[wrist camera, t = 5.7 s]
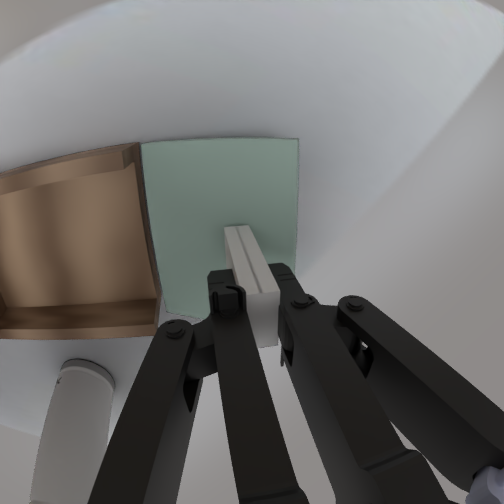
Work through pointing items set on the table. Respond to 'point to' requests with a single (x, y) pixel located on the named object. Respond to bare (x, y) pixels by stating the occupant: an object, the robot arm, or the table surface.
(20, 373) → the table surface
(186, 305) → the panel
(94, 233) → the cart bed
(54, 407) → the travel mug
